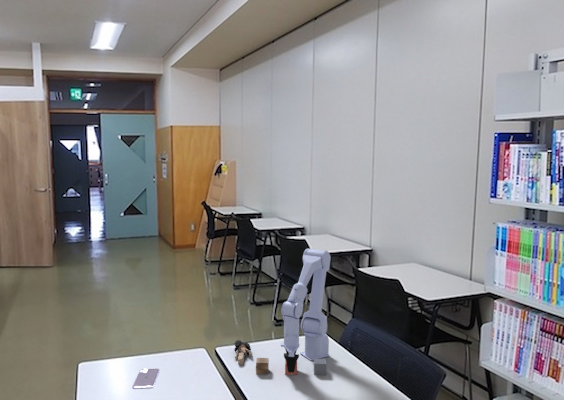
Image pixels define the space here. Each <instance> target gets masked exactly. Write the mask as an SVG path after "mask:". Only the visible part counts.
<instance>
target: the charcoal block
mask: <svg viewBox="0 0 564 400" xmlns="http://www.w3.org/2000/svg"><path fill="white" fill-rule="evenodd" d="M326 360H327V359H326V358H320V359H314V360H313V375H314V376H327V361H326Z"/></svg>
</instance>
